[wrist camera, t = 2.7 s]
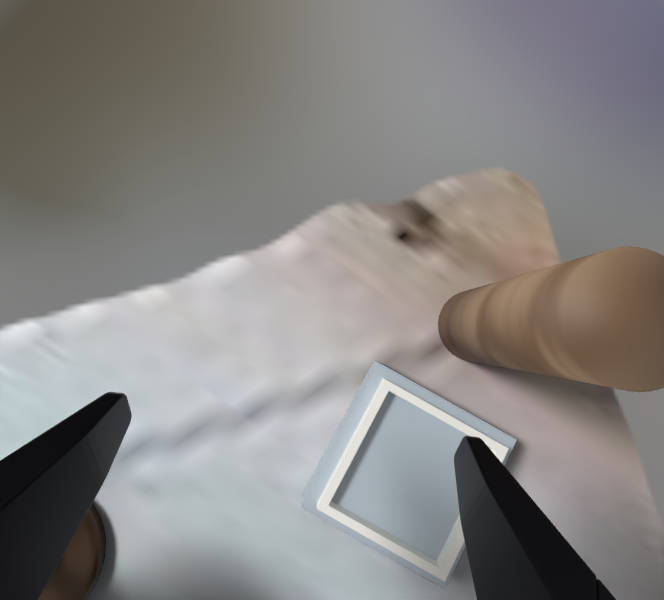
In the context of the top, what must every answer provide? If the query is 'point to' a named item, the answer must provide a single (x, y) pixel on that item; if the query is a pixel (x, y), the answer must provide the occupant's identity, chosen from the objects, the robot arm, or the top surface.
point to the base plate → (399, 473)
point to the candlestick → (79, 562)
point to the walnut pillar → (569, 321)
